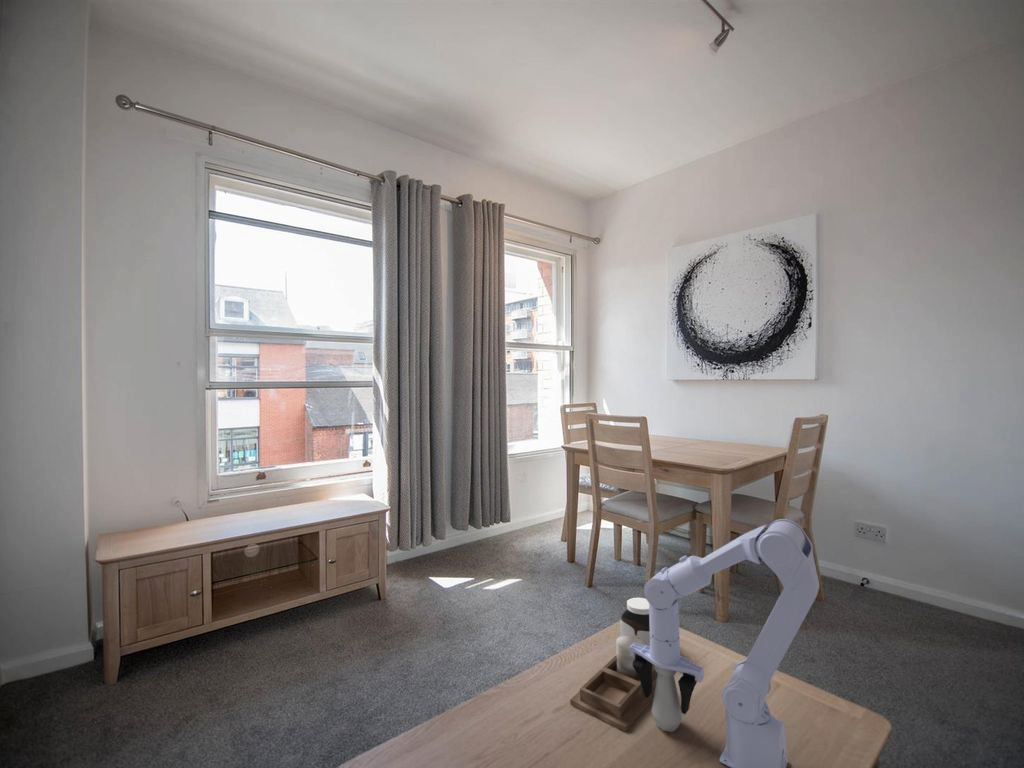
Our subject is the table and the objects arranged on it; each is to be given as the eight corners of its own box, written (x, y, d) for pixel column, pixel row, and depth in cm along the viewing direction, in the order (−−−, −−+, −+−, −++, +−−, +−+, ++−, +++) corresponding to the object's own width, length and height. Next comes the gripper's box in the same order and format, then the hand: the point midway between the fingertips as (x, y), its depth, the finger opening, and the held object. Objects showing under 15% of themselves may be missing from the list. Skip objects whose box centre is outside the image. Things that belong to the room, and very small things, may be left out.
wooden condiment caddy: (668, 680, 108) (667, 641, 108) (625, 732, 92) (624, 686, 92) (617, 660, 116) (616, 623, 116) (570, 704, 100) (569, 662, 101)
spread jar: (616, 646, 123) (615, 601, 123) (641, 630, 130) (640, 588, 130) (657, 665, 114) (655, 617, 114) (681, 648, 121) (679, 602, 121)
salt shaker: (684, 737, 90) (682, 669, 90) (653, 733, 91) (651, 666, 92) (679, 716, 96) (677, 652, 96) (650, 713, 97) (649, 650, 97)
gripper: (708, 638, 92) (710, 707, 92) (639, 616, 102) (641, 679, 101) (695, 654, 87) (697, 727, 87) (624, 629, 96) (626, 695, 96)
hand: (666, 702), depth 94 cm, fingers open, 7 cm apart
